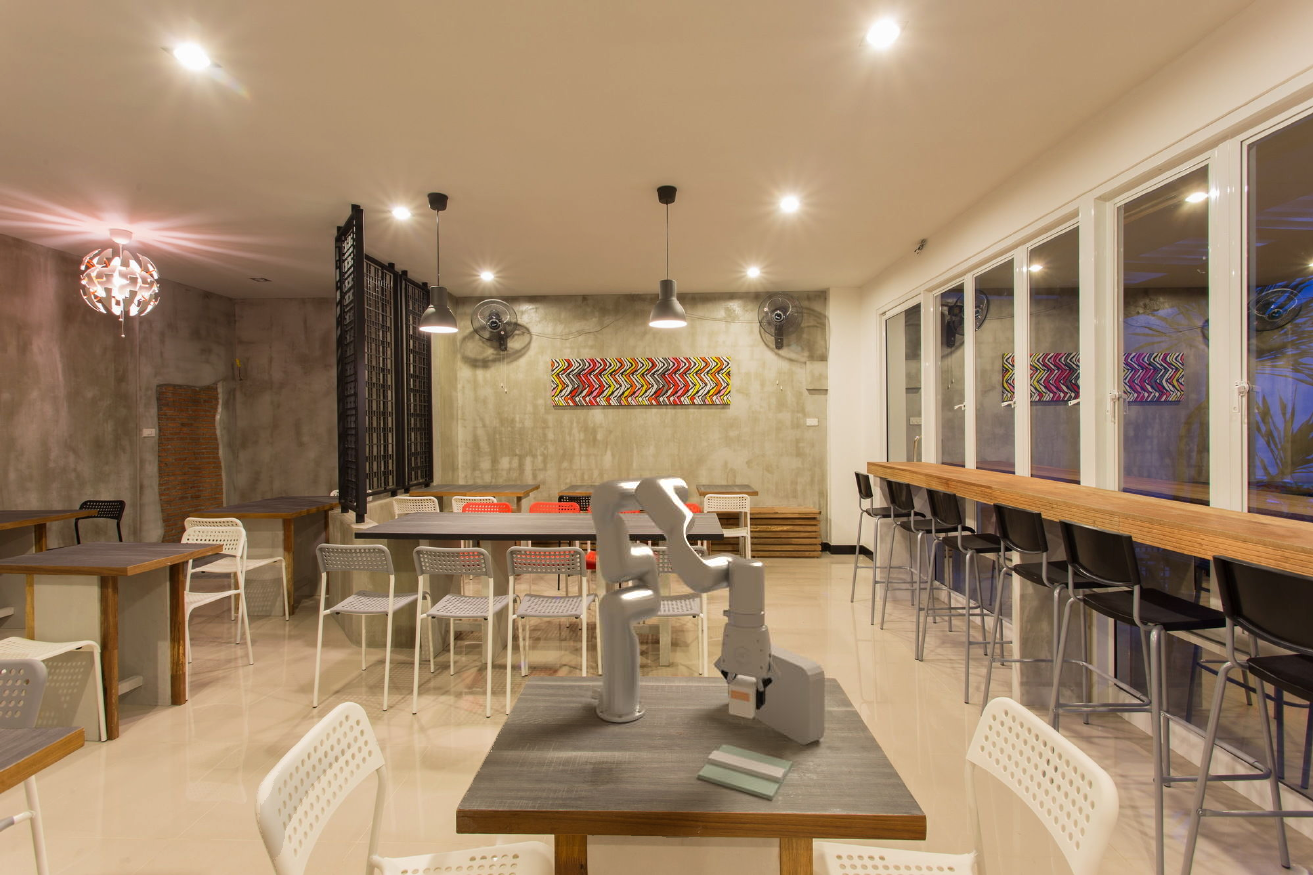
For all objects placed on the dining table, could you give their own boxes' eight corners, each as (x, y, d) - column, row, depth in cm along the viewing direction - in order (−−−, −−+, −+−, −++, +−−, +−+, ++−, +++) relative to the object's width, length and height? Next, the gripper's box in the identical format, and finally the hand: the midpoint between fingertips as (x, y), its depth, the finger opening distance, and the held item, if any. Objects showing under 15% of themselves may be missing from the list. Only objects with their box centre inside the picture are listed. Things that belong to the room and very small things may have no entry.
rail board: (698, 777, 125) (698, 769, 125) (723, 747, 138) (723, 739, 138) (772, 800, 118) (772, 790, 118) (792, 765, 130) (792, 757, 130)
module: (728, 713, 125) (728, 684, 125) (742, 698, 132) (742, 671, 132) (751, 718, 123) (751, 689, 123) (764, 703, 130) (764, 675, 130)
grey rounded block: (831, 739, 141) (831, 663, 141) (808, 749, 137) (809, 670, 137) (748, 696, 165) (749, 630, 165) (727, 702, 161) (727, 635, 161)
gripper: (702, 617, 128) (702, 703, 128) (780, 629, 120) (781, 720, 120) (716, 608, 135) (716, 690, 135) (791, 619, 127) (791, 705, 127)
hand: (746, 703), depth 128 cm, fingers closed on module, 4 cm apart
